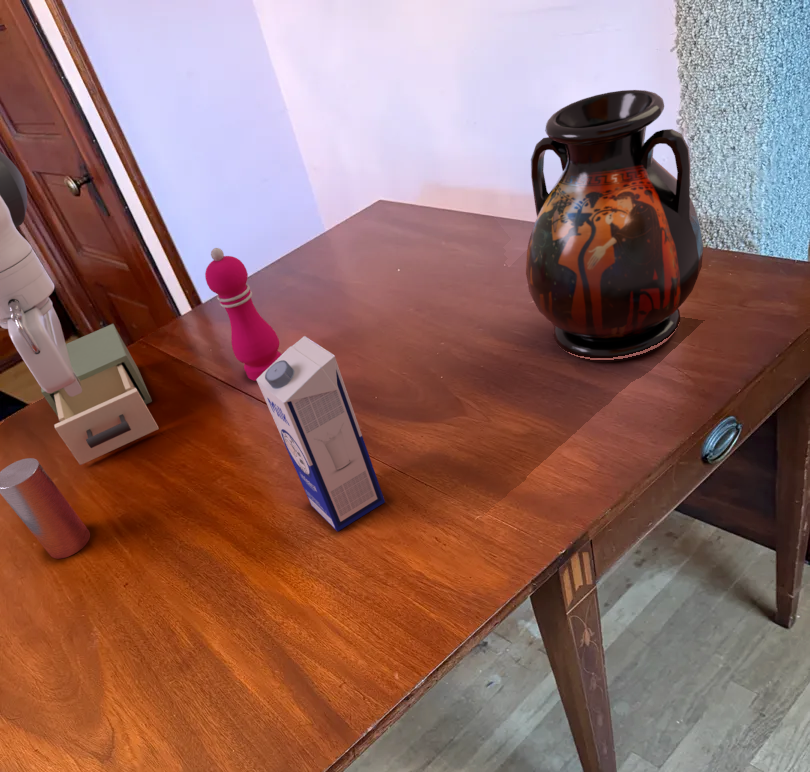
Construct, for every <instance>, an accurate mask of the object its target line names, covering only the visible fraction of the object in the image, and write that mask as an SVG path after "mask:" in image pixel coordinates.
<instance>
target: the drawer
mask: <svg viewBox="0 0 810 772" xmlns="http://www.w3.org/2000/svg"><path fill="white" fill-rule="evenodd" d="M80 384H81V387H82V392H81V393H80V394H78V395H76V396H73V397H70V396H69V395H68V394H67V392H66V391H65V389H64V388H63V389H61V390H59V391H57V392H54V397H55V402H56V407H57V412H58V416H57V418H58V417H59V418H58V421H59V422H57V423H55V424H53V426H54V429H55V430H56V432H57V433H58V435H59V437H60V438H61V439H62V441H63V442H64V444H65V445H66V447H67V448H68V450H69V451H70V453H71V454H72V456H73V457H74V458H75V460H76V461H77V463H78V464H79V465H80V466H83V465H84V464H86V463H88V462H90V461H92V460H95V459H97V458H99V457H102V456H103V455H105V454H106V455H107V454H108V453H110V452H112V451H114V450H116V449H118V448H121V447H123V446H126V445H128V444H129V443H132V442H134V441H136V440H138V439H140V438H142V437H144V436H147V435H149V434H152V433H153V432H155V431H158V430H159V426H158V423H157V422H156V420H155V419H154V417H153V415H152V413H151V411H150V409H149V408H148V406H147V404H145V403H144V401H143V399H142V397H141V396H140V394H139V392H138V390H137V389H136V387H135V385H134V384H133V382H132V380H131V378H130V377H129V375H128V373H127V371H126V370H125V368H124V366H123V364H122V363H120V364H118V365H115V366H113V367H111V368H109V369H106V370H104V371H102V372H100V373H97V374H95V375H93V376H90V377H88V378H86V379H84V380H81V381H80Z"/></svg>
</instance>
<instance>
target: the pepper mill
mask: <svg viewBox="0 0 810 772" xmlns="http://www.w3.org/2000/svg"><path fill="white" fill-rule="evenodd" d="M210 257H211V258H212V261H210V262H209V264H208V265H207V267H206V269H205V273H204V275H205V276H204V277H205V281H206V285H207V286H208V288H209V290H210V291H212V292H213V293H215V294H216V295H217V296H216V298H217V301H219V306H221V308H224V310H225V311H226V313H227V316H228V319H229V323H230V331H231V336H230V337H231V349H232V352H233V354H234V357H235V358H236V360H237V361H238V362H240V363H242V364H244V365H243V369H244V371H245V374H246V376H247V378H248V379H249V380H251V381H253V382H257V380H256V379H257V378H258V377H259V376H260V375H261V374H262V373H263V372H264V371H265V370H266V369H268V368H269V367H270V366H271V365H272V364H273V363H274V362H275V361H276V360H277V359H278V358H279V357H280V356H281V355H282V353H281V352H280V351H279V348H280V339H279V336H278V335H277V333H276V331H275V330H274V329H273V327H272V325H270V324H269V323H268V322H267V321H266V320H265V319H264V317H262V315H260V313H259V312H258V310H257V309H256V307H255V305H254V302H253V299H252V297H253V292H252V290H251V286H250V284H248V283H247V282H248V279H249V278H248V277H249V275H248V270H247V268H246V266H245V264H244V263H243V262H242V260H240V259H239V258H237V257H235V256H232V255H225V254H224V251H223V249H221V248H219V247H214V248H213V249H212V250H211V252H210Z"/></svg>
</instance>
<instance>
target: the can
mask: <svg viewBox="0 0 810 772" xmlns="http://www.w3.org/2000/svg"><path fill="white" fill-rule="evenodd" d="M0 495H1V496H2V498H3V499H4V501H6V503H7V504H8V505H9V506H10V508H11V509H12V510H13V511H14V512H15V513H16V515H17V516H18V517H19V519H20V520H21V521H22V523H23V524H24V525H25V526H26V528H28V530H29V531H30V532H31V533H32V535H33V536H34V537H35V538H36V540H37V541H38V542H39V543H40V545H41V546H42V547H43V548H44V550H45V551H46V552H47V553H48V555H49V556H50V557H51V558H53V559H58V560H60V559H66V558H68V557H71V556H73V555H75V554H77V553H78V552H80V551H81V550H82V549H83V548H85V546H86V545H87V544H88V542H89V541H90V539H91V532H90V530H89V529H88V527H87V526H86V525H85V523H84V522H83V521H82V519H81V518H80V516H79V515H78V514H77V512H76V511H75V509H74V508H73V507H72V505H71V504H70V503H69V501H68V500H67V499H66V497H65V495H64V494H63V493H62V492H61V491H60V489H59V488H58V486H57V485H56V483H55V482H54V481H53V480H52V478H51V477H50V475H49V474H48V472H47V471H46V470H45V469H44V467H43V466H42V464H41V463H40V462H39V460H38V459H36V458H34V457H28V458H22V459H19V460H17V461H14V462H13V463H11V464H9V465H7V466H6V467H4V468H3V469H1V471H0Z"/></svg>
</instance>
